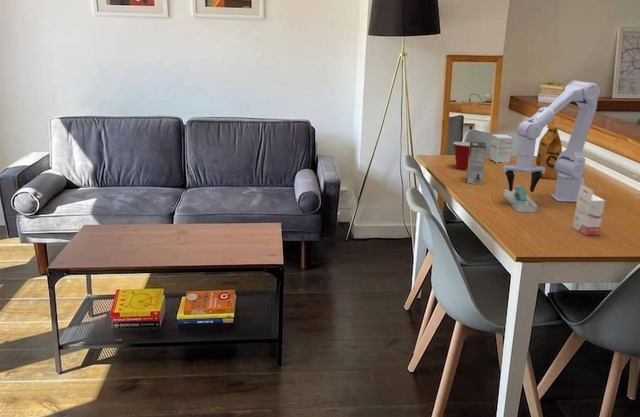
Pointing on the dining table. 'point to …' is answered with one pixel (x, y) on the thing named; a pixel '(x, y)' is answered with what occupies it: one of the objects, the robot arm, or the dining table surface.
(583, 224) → the ink cartridge box
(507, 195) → the white slotted slab
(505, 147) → the supplement box
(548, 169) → the coffee package
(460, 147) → the plastic cup
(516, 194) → the teal rectangular plank
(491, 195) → the dining table surface
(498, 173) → the dining table surface
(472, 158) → the coffee box
